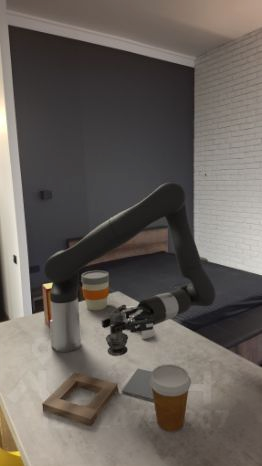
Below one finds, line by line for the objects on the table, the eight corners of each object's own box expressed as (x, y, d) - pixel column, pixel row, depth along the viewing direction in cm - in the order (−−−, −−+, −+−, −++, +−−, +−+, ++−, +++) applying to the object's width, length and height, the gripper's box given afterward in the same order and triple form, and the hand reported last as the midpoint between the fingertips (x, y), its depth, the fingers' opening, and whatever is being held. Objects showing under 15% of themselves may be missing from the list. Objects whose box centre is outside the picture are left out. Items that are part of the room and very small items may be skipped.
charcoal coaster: (121, 392, 86) (121, 390, 86) (137, 370, 96) (137, 368, 96) (160, 403, 82) (160, 401, 82) (173, 378, 92) (173, 376, 92)
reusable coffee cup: (99, 314, 137) (97, 280, 135) (76, 308, 144) (74, 276, 141) (116, 304, 148) (114, 272, 145) (94, 299, 154) (92, 269, 152)
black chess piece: (126, 357, 81) (123, 312, 79) (103, 355, 82) (100, 311, 80) (130, 345, 87) (128, 303, 85) (109, 344, 88) (107, 302, 86)
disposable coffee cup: (147, 409, 80) (146, 364, 78) (185, 405, 81) (185, 361, 79) (153, 439, 71) (152, 390, 69) (196, 435, 71) (196, 386, 69)
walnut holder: (42, 410, 80) (42, 403, 80) (74, 378, 93) (74, 372, 93) (91, 426, 75) (90, 418, 74) (117, 390, 87) (117, 383, 87)
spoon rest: (110, 317, 134) (109, 301, 133) (135, 311, 139) (135, 296, 138) (134, 342, 113) (133, 323, 112) (163, 335, 117) (163, 316, 116)
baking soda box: (48, 327, 126) (45, 288, 124) (44, 321, 132) (41, 283, 129) (72, 321, 131) (69, 283, 128) (67, 315, 136) (64, 279, 134)
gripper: (142, 289, 96) (92, 304, 87) (175, 303, 85) (121, 322, 75) (143, 313, 98) (94, 330, 88) (176, 329, 86) (123, 352, 76)
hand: (107, 326), depth 82 cm, fingers closed on black chess piece, 3 cm apart
